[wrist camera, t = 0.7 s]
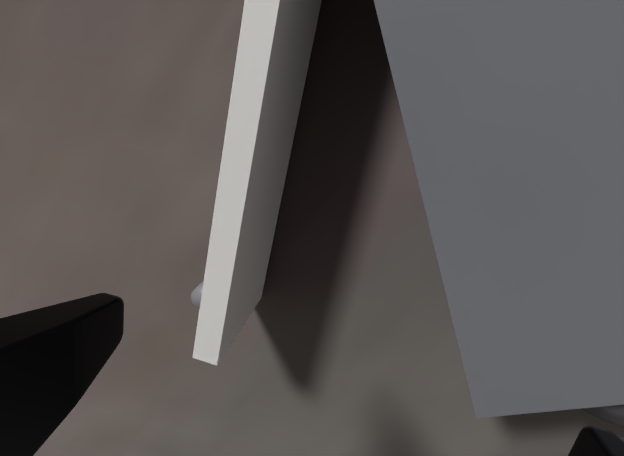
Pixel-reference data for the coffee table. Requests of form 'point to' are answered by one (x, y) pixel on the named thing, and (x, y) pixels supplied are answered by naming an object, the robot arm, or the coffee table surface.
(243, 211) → the side door
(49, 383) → the robot arm
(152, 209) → the coffee table surface
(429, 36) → the grey slab
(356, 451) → the coffee table surface
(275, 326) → the coffee table surface
